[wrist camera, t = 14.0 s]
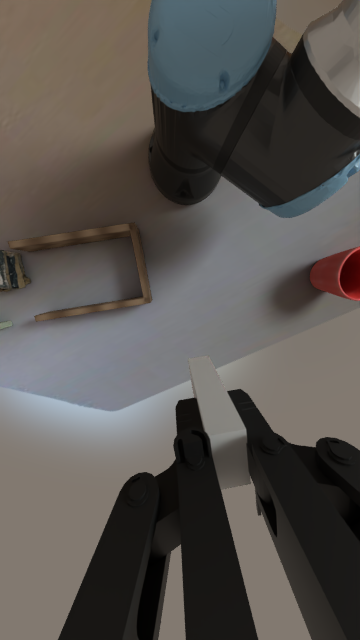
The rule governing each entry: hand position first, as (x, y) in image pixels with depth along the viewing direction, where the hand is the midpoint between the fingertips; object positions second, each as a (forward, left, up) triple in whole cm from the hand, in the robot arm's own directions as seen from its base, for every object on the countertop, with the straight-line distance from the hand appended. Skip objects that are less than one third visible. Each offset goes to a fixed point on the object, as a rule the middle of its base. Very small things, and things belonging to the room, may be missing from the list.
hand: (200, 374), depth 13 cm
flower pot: (+17, +33, -33) cm, 49 cm away
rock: (-32, -27, -33) cm, 53 cm away
